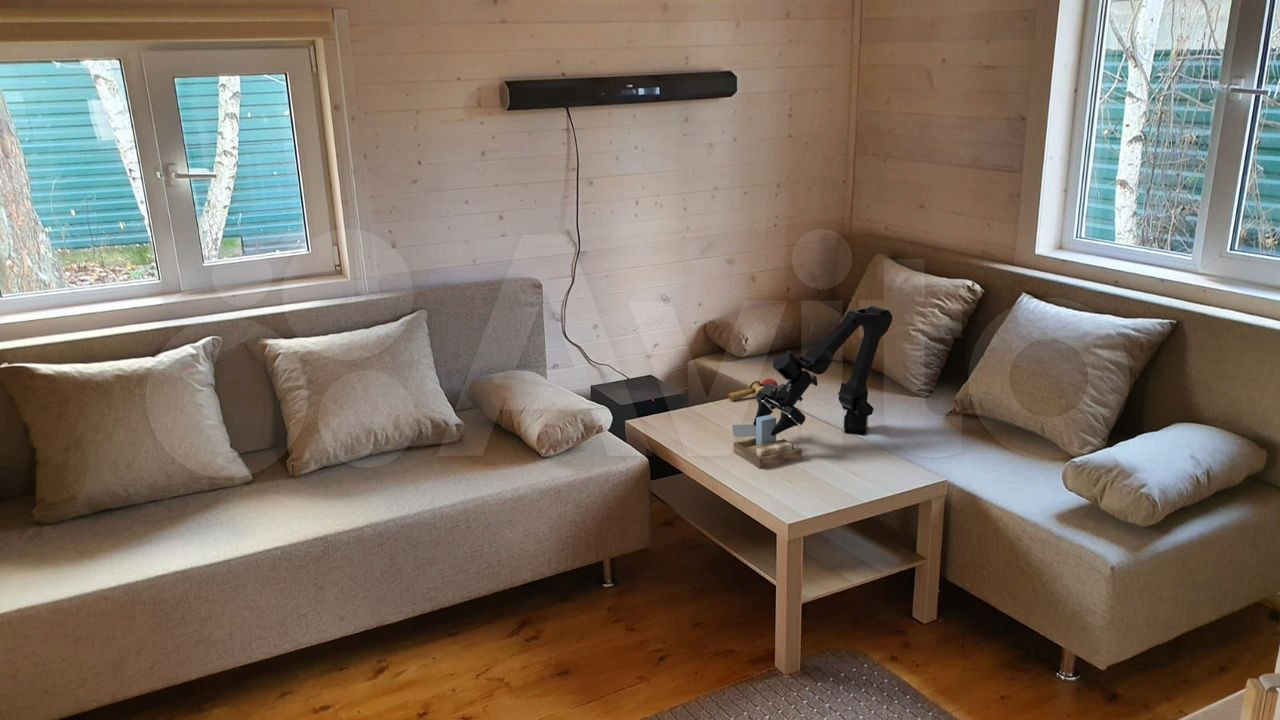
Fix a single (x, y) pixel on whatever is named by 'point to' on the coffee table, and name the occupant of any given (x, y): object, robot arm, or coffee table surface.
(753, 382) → the kendama
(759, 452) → the offcut
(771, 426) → the light blue block
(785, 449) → the offcut
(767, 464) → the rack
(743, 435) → the mat
